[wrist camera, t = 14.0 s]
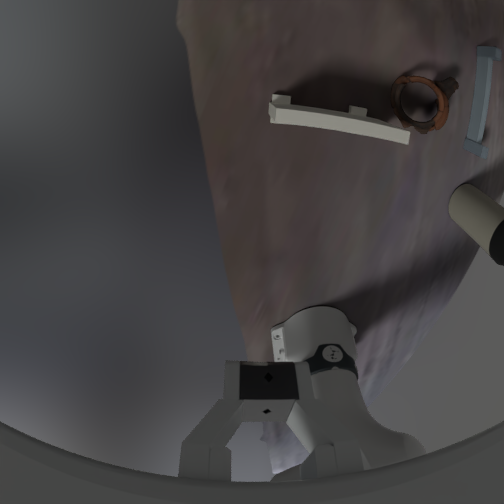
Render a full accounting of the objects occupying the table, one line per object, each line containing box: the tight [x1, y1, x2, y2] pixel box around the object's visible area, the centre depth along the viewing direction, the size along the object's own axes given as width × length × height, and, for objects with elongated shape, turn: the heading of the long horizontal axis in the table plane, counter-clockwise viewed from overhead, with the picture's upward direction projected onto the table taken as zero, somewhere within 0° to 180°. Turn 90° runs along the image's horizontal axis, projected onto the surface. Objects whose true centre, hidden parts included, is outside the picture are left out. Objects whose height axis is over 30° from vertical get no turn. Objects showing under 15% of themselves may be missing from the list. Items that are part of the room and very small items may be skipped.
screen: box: [269, 94, 410, 144], centre depth 33 cm, size 4×16×10 cm, turn 86°
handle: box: [463, 46, 502, 159], centre depth 31 cm, size 20×2×5 cm, turn 176°
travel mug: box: [449, 184, 504, 266], centre depth 37 cm, size 8×8×18 cm
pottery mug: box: [391, 75, 459, 134], centre depth 33 cm, size 12×10×8 cm
